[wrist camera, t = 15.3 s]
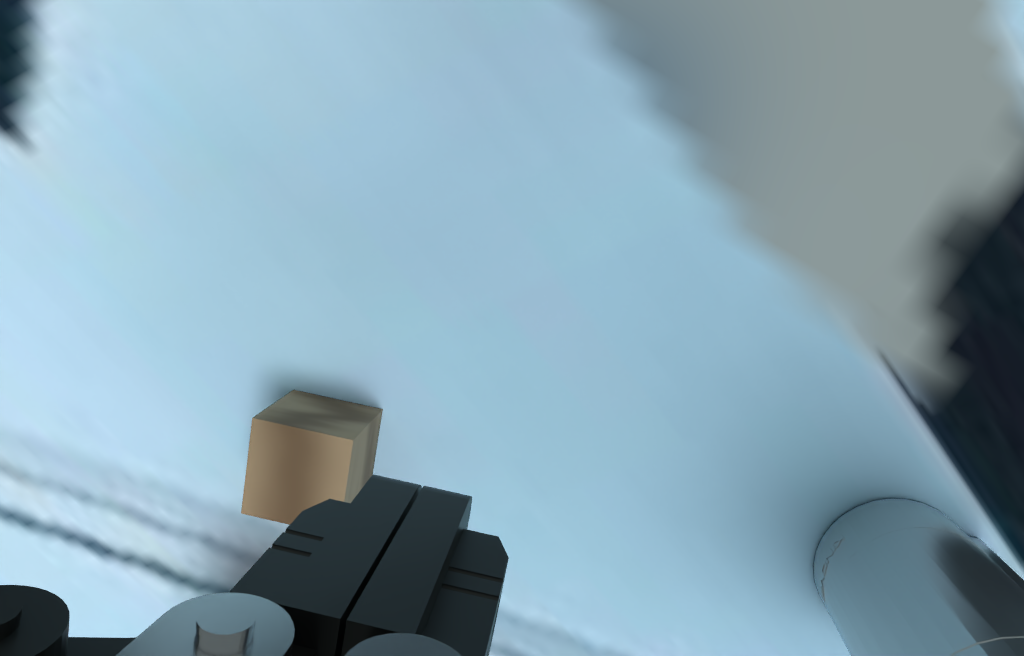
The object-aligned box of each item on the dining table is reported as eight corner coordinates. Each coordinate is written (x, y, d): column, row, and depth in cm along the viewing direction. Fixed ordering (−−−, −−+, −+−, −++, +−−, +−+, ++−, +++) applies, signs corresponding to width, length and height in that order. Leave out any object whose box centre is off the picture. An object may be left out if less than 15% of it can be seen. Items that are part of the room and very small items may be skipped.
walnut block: (383, 408, 48) (353, 440, 43) (369, 493, 50) (338, 535, 44) (294, 389, 49) (252, 418, 43) (282, 474, 50) (241, 513, 44)
